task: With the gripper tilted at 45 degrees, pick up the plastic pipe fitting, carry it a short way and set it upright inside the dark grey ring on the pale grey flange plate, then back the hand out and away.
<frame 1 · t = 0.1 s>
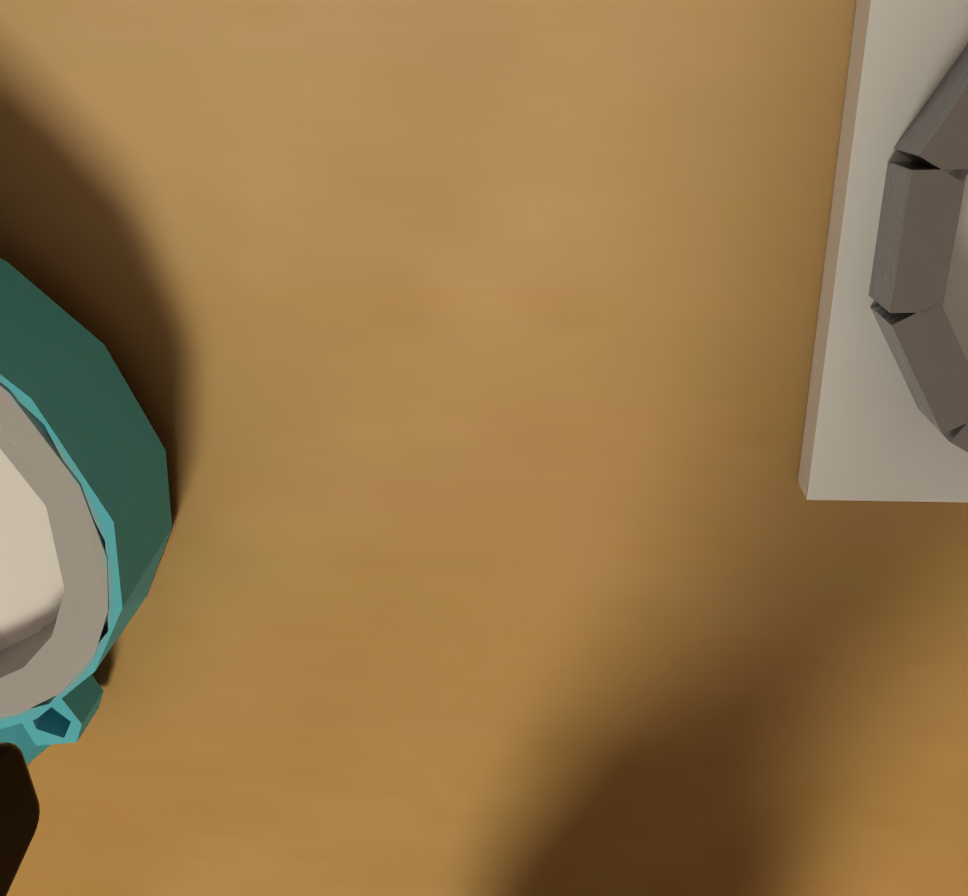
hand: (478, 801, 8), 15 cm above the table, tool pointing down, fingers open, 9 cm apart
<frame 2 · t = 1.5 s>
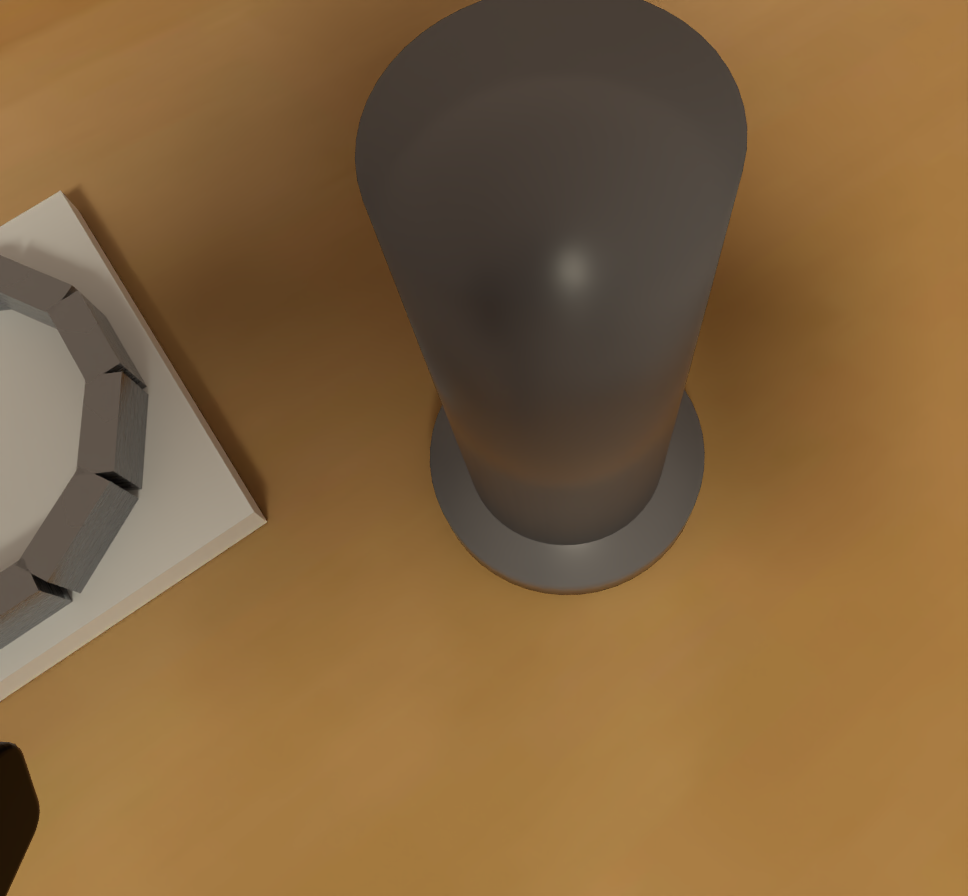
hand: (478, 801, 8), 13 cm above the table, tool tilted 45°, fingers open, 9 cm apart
pipe fitting: (565, 465, 23), on the table
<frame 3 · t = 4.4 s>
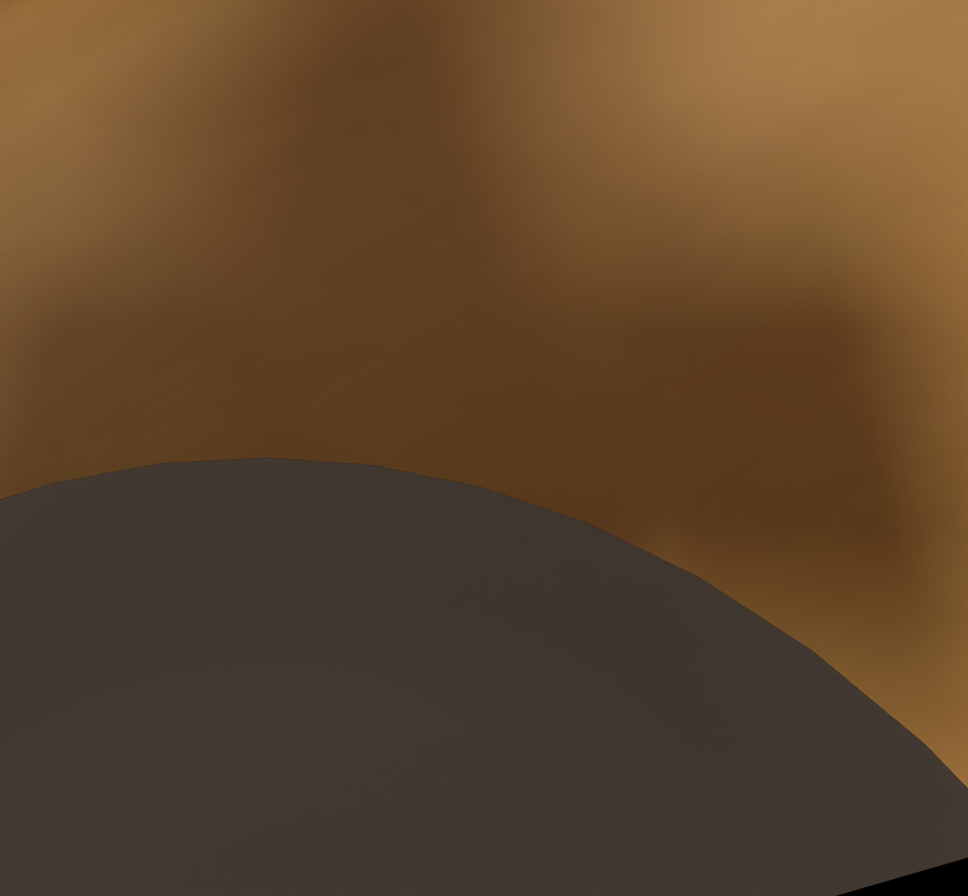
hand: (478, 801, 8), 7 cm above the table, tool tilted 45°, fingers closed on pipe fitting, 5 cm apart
pipe fitting: (520, 883, 14), on the table, touching gripper
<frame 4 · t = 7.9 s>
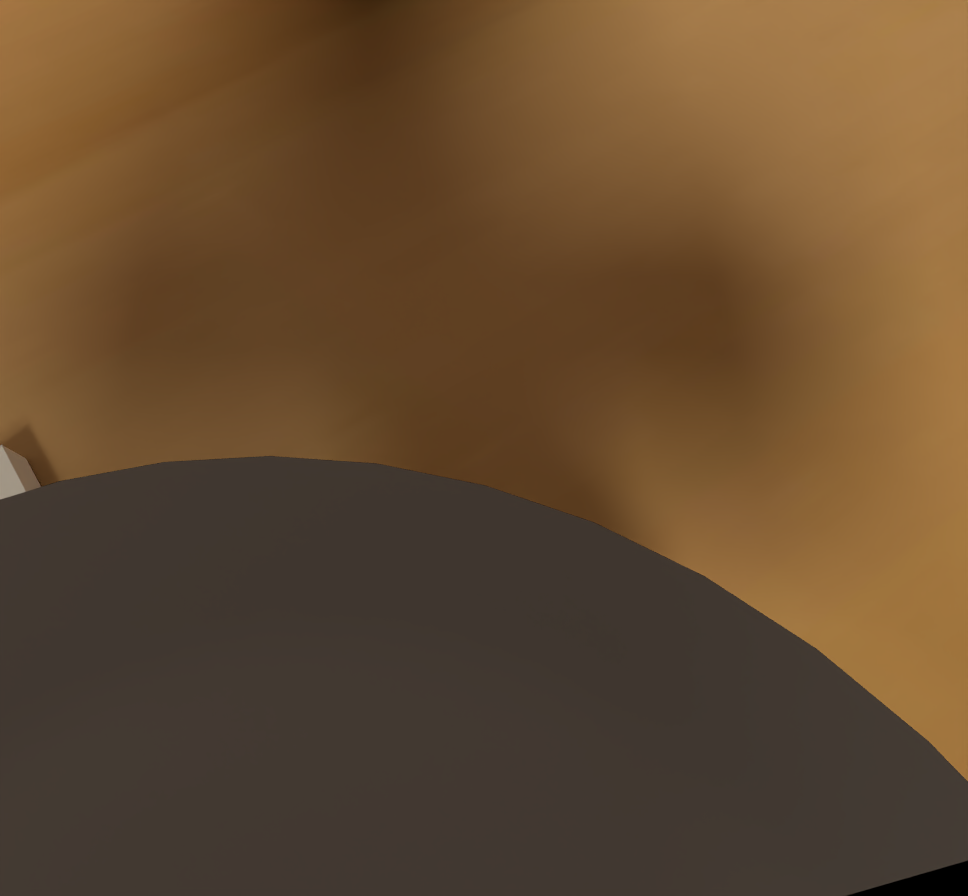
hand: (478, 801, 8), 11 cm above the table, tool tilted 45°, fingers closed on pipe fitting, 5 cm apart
pipe fitting: (520, 883, 14), point 4 cm above the table, touching gripper
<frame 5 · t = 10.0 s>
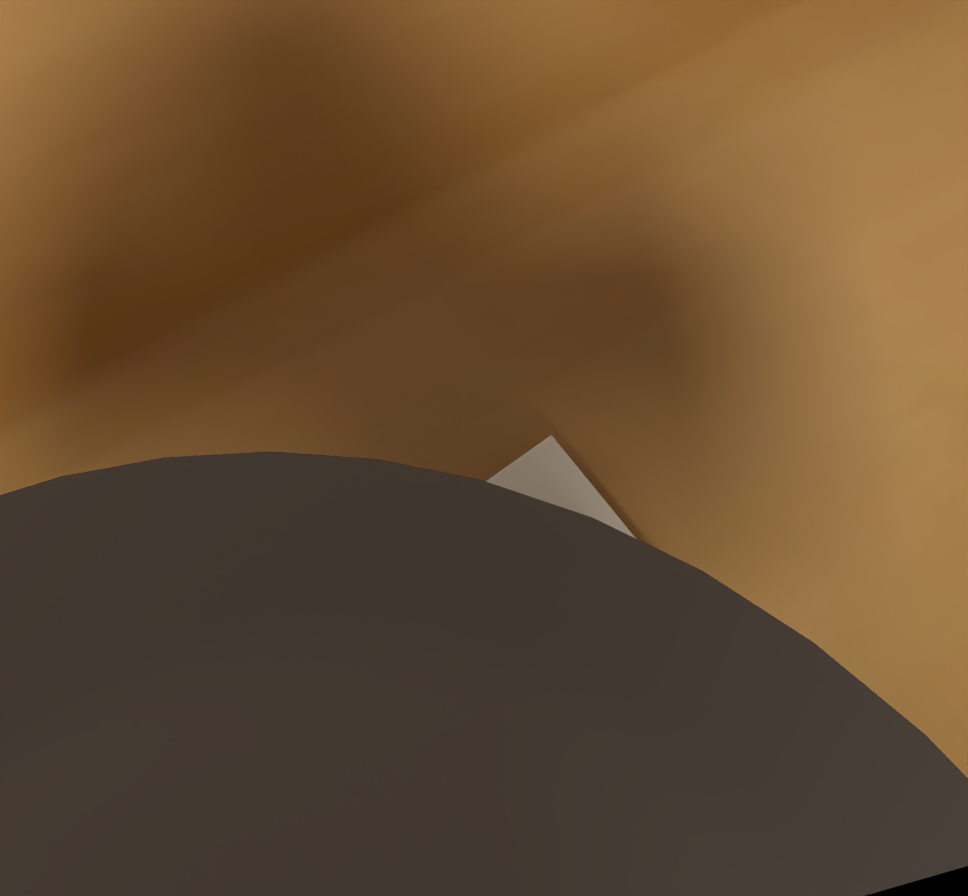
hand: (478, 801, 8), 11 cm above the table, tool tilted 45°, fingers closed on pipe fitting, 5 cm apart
flange plate: (489, 860, 18), on the table
pipe fitting: (520, 882, 14), point 4 cm above the table, touching gripper
when the fingers open (9 cm above the table, at t = 11.5 s): pipe fitting stays where it is, resting on flange plate.
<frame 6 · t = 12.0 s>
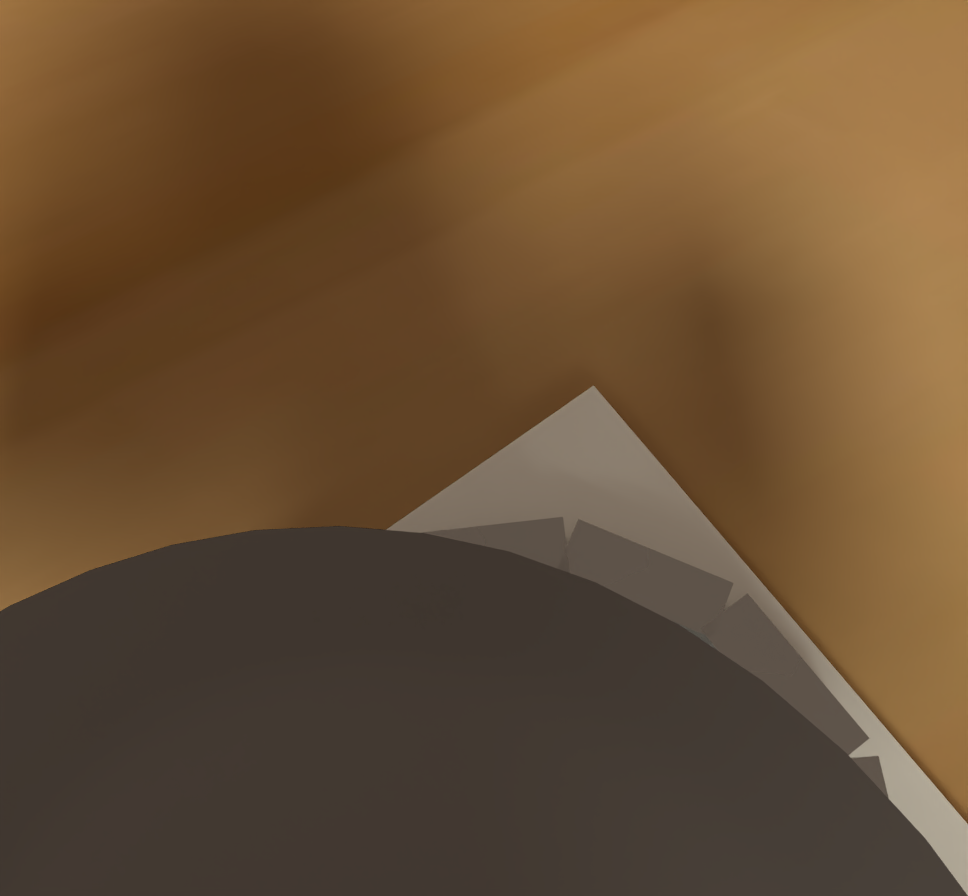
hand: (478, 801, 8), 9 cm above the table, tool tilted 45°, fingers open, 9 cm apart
flange plate: (525, 871, 15), on the table
pipe fitting: (522, 879, 14), point 1 cm above the table, touching flange plate
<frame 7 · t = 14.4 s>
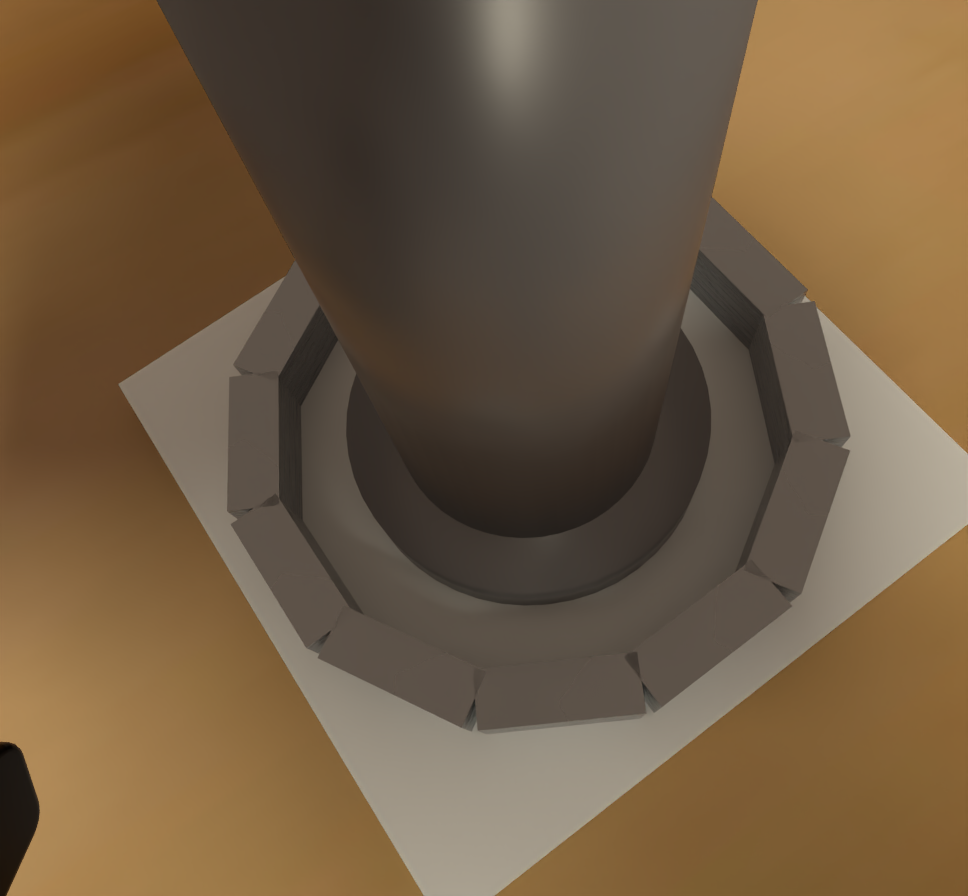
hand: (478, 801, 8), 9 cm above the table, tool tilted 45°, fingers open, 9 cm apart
flange plate: (530, 451, 19), on the table
pipe fitting: (528, 435, 18), point 1 cm above the table, touching flange plate
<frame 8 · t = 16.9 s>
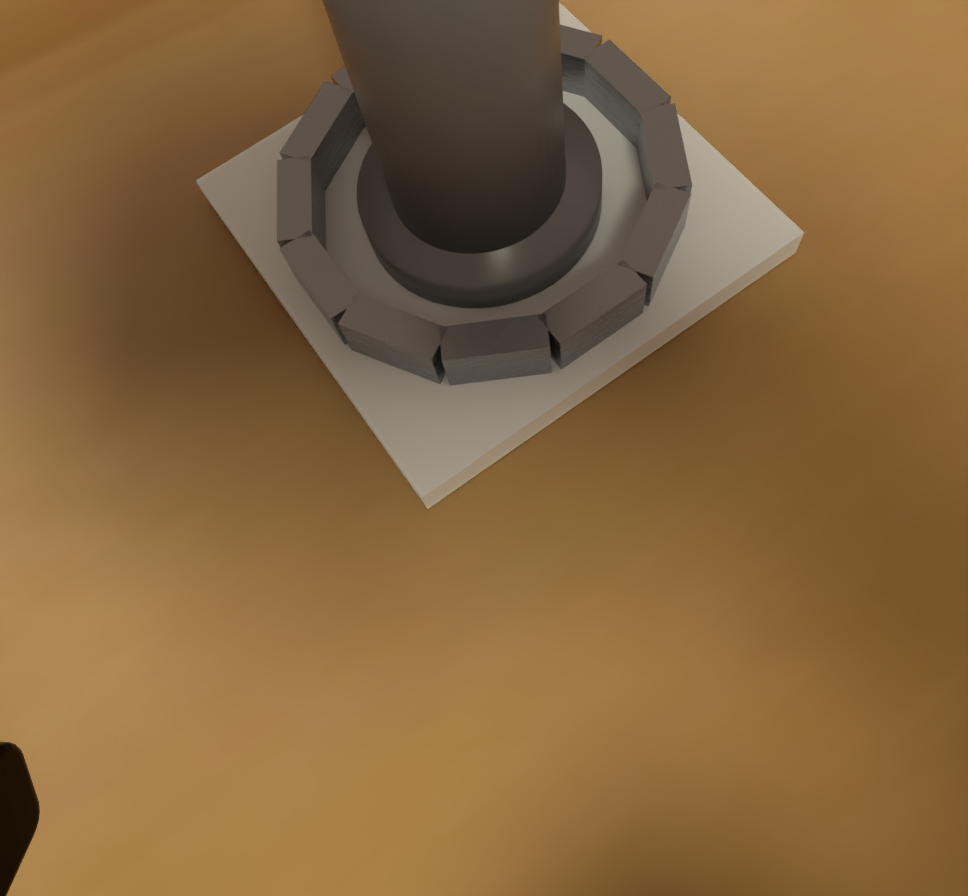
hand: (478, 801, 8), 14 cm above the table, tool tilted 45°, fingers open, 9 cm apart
flange plate: (485, 225, 26), on the table
pipe fitting: (482, 204, 25), point 1 cm above the table, touching flange plate
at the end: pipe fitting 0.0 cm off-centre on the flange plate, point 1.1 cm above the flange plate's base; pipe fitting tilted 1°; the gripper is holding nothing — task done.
